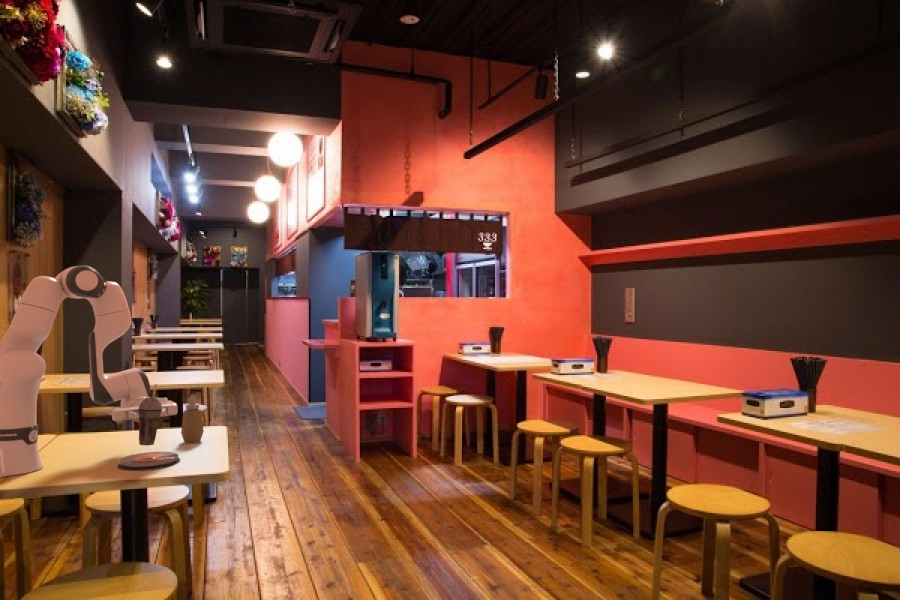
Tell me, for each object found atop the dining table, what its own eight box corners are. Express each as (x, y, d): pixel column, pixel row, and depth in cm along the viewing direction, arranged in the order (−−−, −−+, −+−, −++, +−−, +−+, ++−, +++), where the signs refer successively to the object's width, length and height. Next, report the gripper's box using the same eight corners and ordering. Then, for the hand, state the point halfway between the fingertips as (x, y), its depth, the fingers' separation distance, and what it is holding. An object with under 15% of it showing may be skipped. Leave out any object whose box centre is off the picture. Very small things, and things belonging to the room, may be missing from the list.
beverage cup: (129, 443, 209) (136, 383, 210) (148, 441, 215) (154, 382, 217) (144, 447, 205) (151, 385, 207) (163, 444, 212) (169, 384, 213)
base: (104, 470, 202) (104, 469, 202) (137, 456, 221) (137, 455, 221) (162, 471, 201) (162, 470, 201) (190, 456, 220) (190, 455, 220)
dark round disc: (106, 468, 202) (107, 464, 202) (138, 454, 220) (138, 450, 220) (161, 468, 201) (161, 464, 201) (188, 455, 219) (188, 451, 219)
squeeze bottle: (176, 443, 241) (176, 396, 241) (190, 438, 249) (190, 393, 249) (194, 444, 239) (194, 397, 239) (208, 440, 246) (208, 394, 247)
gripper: (107, 403, 215) (115, 408, 204) (171, 397, 227) (181, 402, 216) (107, 421, 215) (115, 428, 204) (171, 414, 227) (181, 420, 216)
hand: (150, 414), depth 210 cm, fingers closed on beverage cup, 7 cm apart
